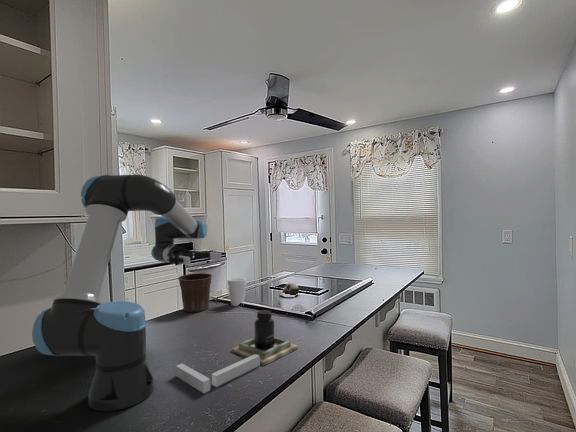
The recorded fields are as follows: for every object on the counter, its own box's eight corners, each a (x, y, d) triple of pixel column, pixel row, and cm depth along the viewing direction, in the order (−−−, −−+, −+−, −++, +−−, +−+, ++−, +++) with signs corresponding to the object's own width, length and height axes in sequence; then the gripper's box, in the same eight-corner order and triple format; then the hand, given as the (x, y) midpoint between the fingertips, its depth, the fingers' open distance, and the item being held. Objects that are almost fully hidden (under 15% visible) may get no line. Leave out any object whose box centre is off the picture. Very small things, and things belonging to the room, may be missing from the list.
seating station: (264, 365, 100) (264, 357, 100) (231, 351, 110) (231, 343, 110) (297, 348, 112) (297, 341, 111) (265, 337, 122) (265, 330, 122)
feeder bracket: (203, 393, 85) (203, 381, 85) (175, 376, 94) (175, 365, 94) (259, 365, 99) (259, 355, 99) (231, 353, 109) (230, 344, 109)
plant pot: (195, 315, 149) (194, 280, 149) (171, 311, 157) (170, 277, 157) (219, 306, 163) (219, 274, 163) (196, 302, 171) (195, 272, 171)
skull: (274, 295, 181) (281, 279, 187) (283, 304, 187) (289, 288, 193) (291, 297, 174) (298, 280, 180) (300, 306, 180) (306, 290, 186)
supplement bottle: (271, 351, 107) (271, 315, 107) (252, 350, 108) (251, 314, 108) (276, 343, 113) (276, 309, 113) (257, 342, 115) (257, 308, 115)
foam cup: (245, 306, 162) (244, 280, 162) (226, 307, 163) (226, 281, 162) (247, 301, 172) (247, 277, 172) (230, 301, 172) (229, 277, 172)
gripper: (202, 260, 145) (232, 264, 130) (146, 267, 126) (174, 274, 112) (201, 243, 145) (231, 245, 130) (146, 248, 126) (174, 252, 112)
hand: (205, 258), depth 121 cm, fingers open, 13 cm apart
